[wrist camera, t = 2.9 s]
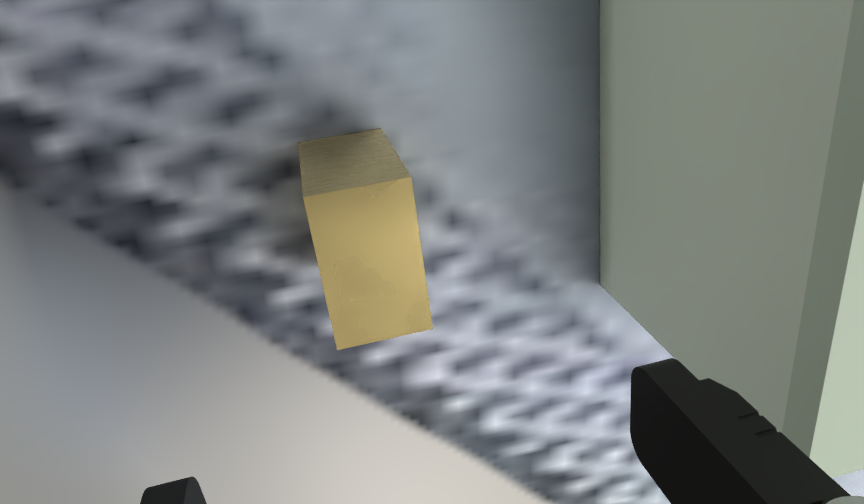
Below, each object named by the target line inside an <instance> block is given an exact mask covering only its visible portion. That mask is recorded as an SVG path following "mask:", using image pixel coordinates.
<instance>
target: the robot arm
mask: <svg viewBox="0 0 864 504" xmlns="http://www.w3.org/2000/svg"><path fill="white" fill-rule="evenodd" d="M630 433H631V439H632V443H633V446H634V449H635V452H636V454H637V456H638V458H639V460H640V462H641V463H642V465H643V466H644V468H645V469H646V470H647V472H648V473H649V474H650V476H651V477H652V478H653V480H654V481H655V482H656V484H657V485H658V487H659V488H660V489H661V491H662V492H663V493H664V495H665V496H666V497H667V499H668V500H669V501H670V503H671V504H864V497H861V496H851V495H850V494H848V493H847V492H846V491H845V490H844V489H843V488H842V487H841V486H840V485H838V484H837V483H836V482H835V481H834V480H833V479H832V478H831V477H830V476H829V475H827V474H826V473H825V472H824V471H823V470H822V469H821V468H820V467H819V466H818V465H816V464H815V463H814V462H813V461H812V460H811V459H810V458H809V457H808V456H807V455H806V454H804V453H803V452H802V451H801V450H800V449H799V448H798V447H797V446H796V445H795V444H793V443H792V442H791V441H790V440H789V439H788V438H787V437H786V436H785V435H784V434H782V433H781V432H777V430H776V427H775V426H774V425H773V424H772V423H770V422H769V421H768V420H767V419H766V418H765V417H764V416H763V415H762V416H760V415H759V413H758V411H757V410H756V409H755V408H754V407H753V406H752V405H751V404H750V403H748V402H747V401H746V400H745V399H744V398H743V397H742V396H741V395H740V394H739V393H738V392H736V391H734V390H732V389H730V388H728V387H726V386H724V385H722V384H720V383H718V382H716V381H714V380H712V379H710V378H707V379H703V380H698V379H697V378H696V377H695V376H694V375H693V374H692V373H691V372H690V371H689V370H688V369H687V368H686V367H685V366H684V365H683V364H682V363H681V362H679V361H678V360H676V359H674V358H671V359H667V360H663V361H659V362H655V363H651V364H647V365H643V366H639V367H636V368H634V369H633V371H632V375H631V413H630ZM140 504H206V501H205V498H204V496H203V493H202V491H201V488H200V486H199V483H198V481H197V480H196V479H195V478H194V477H189V478H184V479H180V480H176V481H173V482H168V483H164V484H160V485H156V486H153V487H149V488H147V489H146V490H145V491H144V493H143V496H142V499H141V503H140Z"/></svg>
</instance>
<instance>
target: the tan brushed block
mask: <svg viewBox="0 0 864 504" xmlns="http://www.w3.org/2000/svg"><path fill="white" fill-rule="evenodd" d="M298 147H299V158H300V170H301V181H302V193H303V200H304V205H305V209H306V213H307V218H308V222H309V227H310V231H311V236H312V240H313V244H314V249H315V253H316V258H317V262H318V267H319V271H320V276H321V280H322V284H323V289H324V293H325V298H326V302H327V307H328V311H329V315H330V320H331V324H332V329H333V333H334V338H335V342H336V347H337V350H340V349H345V348H349V347H354V346H358V345H363V344H367V343H372V342H376V341H380V340H385V339H389V338H394V337H398V336H403V335H407V334H412V333H416V332H421V331H425V330H430V329H433V327H432V320H431V313H430V305H429V298H428V291H427V284H426V277H425V270H424V263H423V256H422V249H421V242H420V235H419V228H418V220H417V213H416V206H415V199H414V192H413V185H412V178H411V176H410V174H409V172H408V171H407V169H406V168H405V166H404V164H403V163H402V161H401V160H400V158H399V156H398V155H397V153H396V152H395V150H394V148H393V147H392V145H391V143H390V142H389V140H388V139H387V137H386V135H385V134H384V132H383V131H382V129H381V128H379V129H373V130H367V131H362V132H356V133H350V134H344V135H338V136H333V137H327V138H321V139H315V140H310V141H304V142H298Z"/></svg>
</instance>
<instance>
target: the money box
mask: <svg viewBox="0 0 864 504" xmlns="http://www.w3.org/2000/svg"><path fill="white" fill-rule="evenodd" d="M600 285H601V286H602V287H603V288H604V289H605V290H606V291H607V292H608V293H609V294H610V295H611V296H612V297H613V298H614V299H615V300H616V301H617V302H618V303H619V304H620V305H621V306H622V307H623V308H624V309H625V310H626V311H627V312H628V313H629V314H630V315H631V316H632V317H633V318H634V319H635V320H636V321H637V322H638V323H639V324H640V325H641V326H642V327H643V328H644V329H645V330H646V331H648V332H649V333H650V334H651V335H652V336H653V337H654V338H655V339H656V340H657V341H658V342H659V343H660V344H661V345H662V346H663V347H664V348H665V349H666V350H667V351H668V352H669V353H670V354H671V355H672V356H673V357H674V358H675V359H676V360H678V361H679V362H681V363H682V364H683V365H684V366H685V367H686V368H687V369H688V370H689V371H690V372H691V373H692V374H693V375H694V376H695V377H696V378H697V379H698V380H703V379H707V378H710V379H712V380H714V381H716V382H718V383H720V384H722V385H724V386H726V387H728V388H730V389H732V390H734V391H736V392H738V393H739V394H740V395H741V396H742V397H743V398H744V399H745V400H746V401H747V402H748V403H750V404H751V405H752V406H753V407H754V408H755V409H756V410H757V411H758V413H759V415H760V416H762V415H763V416H764V417H765V418H766V419H767V420H768V421H769V422H770V423H772V424H773V425H774V426H775V427H776V430H777V432H781V433H782V434H784V435H785V436H786V437H787V438H788V439H789V440H790V441H791V442H792V443H793V444H795V445H796V446H797V447H798V448H799V449H800V450H801V451H802V452H803V453H804V454H806V455H807V456H808V457H809V458H810V459H811V460H812V461H813V462H814V463H815V464H816V465H818V466H819V467H820V468H821V469H822V470H823V471H824V472H825V473H826V474H827V475H829V476H830V477H831V478H834V477H838V476H841V475H845V474H848V473H852V472H855V471H859V470H862V469H864V0H600Z"/></svg>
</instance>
